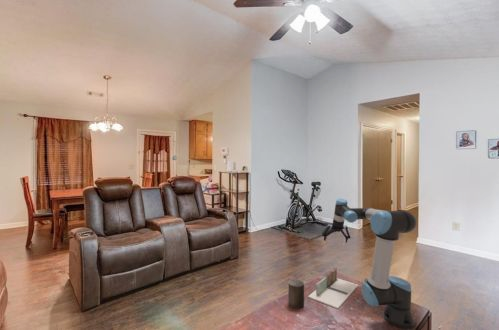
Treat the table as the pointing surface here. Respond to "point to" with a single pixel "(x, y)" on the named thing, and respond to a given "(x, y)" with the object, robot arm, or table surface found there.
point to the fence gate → (321, 285)
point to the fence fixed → (331, 277)
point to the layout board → (335, 293)
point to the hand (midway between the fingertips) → (334, 245)
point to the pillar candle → (296, 294)
